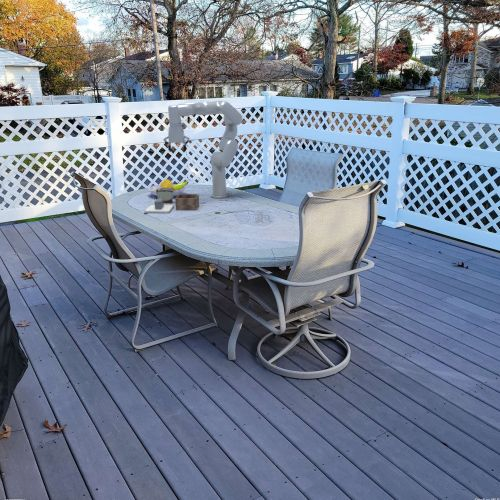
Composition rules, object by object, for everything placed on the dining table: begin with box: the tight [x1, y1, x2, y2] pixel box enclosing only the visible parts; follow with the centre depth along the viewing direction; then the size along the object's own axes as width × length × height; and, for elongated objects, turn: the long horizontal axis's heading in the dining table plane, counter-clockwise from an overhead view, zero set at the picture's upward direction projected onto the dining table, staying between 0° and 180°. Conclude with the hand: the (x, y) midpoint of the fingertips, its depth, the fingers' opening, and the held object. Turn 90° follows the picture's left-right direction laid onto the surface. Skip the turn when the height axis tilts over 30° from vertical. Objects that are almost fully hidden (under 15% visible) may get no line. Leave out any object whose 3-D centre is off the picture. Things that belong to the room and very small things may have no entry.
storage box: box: [174, 193, 200, 211], centre depth 313 cm, size 13×13×8 cm
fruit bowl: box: [147, 178, 189, 198], centre depth 347 cm, size 28×27×11 cm
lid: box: [144, 198, 175, 214], centre depth 307 cm, size 15×15×6 cm
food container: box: [156, 188, 174, 204], centre depth 327 cm, size 12×6×10 cm, turn 84°
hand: (177, 151), depth 320 cm, fingers open, 9 cm apart
